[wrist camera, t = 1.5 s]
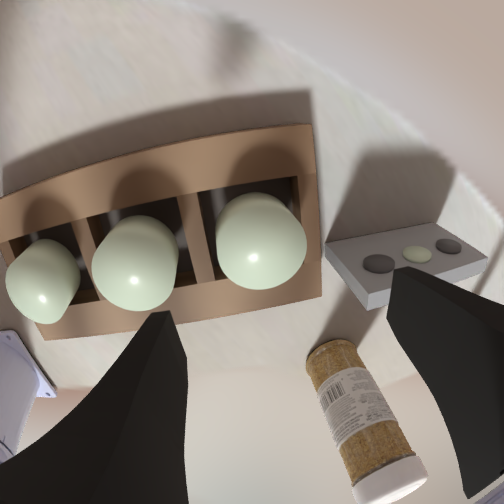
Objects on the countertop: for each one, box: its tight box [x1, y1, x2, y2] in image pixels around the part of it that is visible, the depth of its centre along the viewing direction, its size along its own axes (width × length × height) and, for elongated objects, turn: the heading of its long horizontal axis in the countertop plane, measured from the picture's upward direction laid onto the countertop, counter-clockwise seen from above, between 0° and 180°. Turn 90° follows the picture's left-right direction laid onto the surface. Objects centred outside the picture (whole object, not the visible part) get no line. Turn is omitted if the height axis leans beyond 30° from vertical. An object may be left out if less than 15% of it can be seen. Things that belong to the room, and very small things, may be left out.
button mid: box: [91, 215, 179, 311], centre depth 14 cm, size 4×4×2 cm
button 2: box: [5, 239, 81, 324], centre depth 14 cm, size 4×4×2 cm
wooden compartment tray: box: [0, 123, 322, 341], centre depth 16 cm, size 19×10×2 cm, turn 98°
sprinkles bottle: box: [306, 339, 428, 504], centre depth 17 cm, size 5×5×13 cm
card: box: [325, 222, 488, 311], centre depth 17 cm, size 9×1×6 cm, turn 98°
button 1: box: [215, 192, 307, 290], centre depth 14 cm, size 4×4×2 cm
